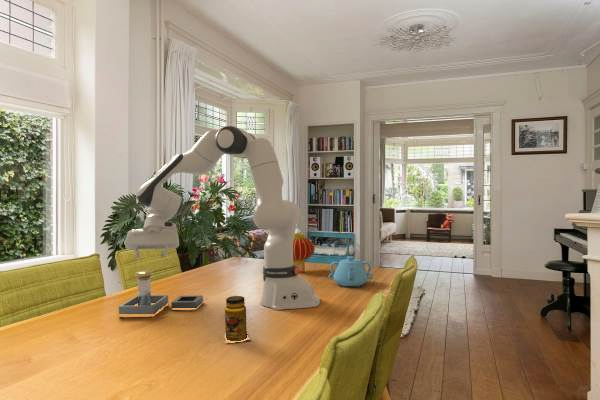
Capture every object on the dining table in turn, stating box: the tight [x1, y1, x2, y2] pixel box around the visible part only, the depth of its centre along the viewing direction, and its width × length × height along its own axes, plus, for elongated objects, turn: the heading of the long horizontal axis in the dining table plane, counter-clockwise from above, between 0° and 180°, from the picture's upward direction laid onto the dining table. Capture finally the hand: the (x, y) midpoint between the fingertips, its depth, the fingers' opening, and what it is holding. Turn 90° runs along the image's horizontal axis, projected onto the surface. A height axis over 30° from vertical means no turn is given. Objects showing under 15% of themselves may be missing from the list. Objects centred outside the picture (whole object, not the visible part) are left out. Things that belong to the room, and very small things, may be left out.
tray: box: [118, 294, 169, 315], centre depth 139 cm, size 12×14×4 cm
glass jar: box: [134, 270, 154, 306], centre depth 139 cm, size 6×6×13 cm
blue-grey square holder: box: [170, 294, 204, 309], centre depth 144 cm, size 9×9×3 cm
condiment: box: [224, 295, 249, 341], centre depth 112 cm, size 7×8×12 cm
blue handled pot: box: [328, 255, 373, 288], centre depth 172 cm, size 20×20×13 cm
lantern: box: [293, 232, 316, 274], centre depth 202 cm, size 17×17×30 cm
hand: (150, 256), depth 150 cm, fingers open, 8 cm apart
